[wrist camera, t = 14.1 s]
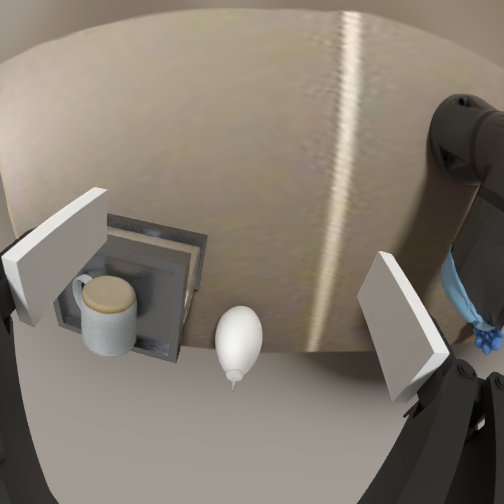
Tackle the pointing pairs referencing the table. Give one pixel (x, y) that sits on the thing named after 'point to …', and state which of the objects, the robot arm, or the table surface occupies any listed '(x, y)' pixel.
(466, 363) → the robot arm
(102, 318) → the ceramic mug
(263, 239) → the table surface
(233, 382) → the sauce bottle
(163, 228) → the grey piece
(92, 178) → the table surface
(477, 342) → the grapes
